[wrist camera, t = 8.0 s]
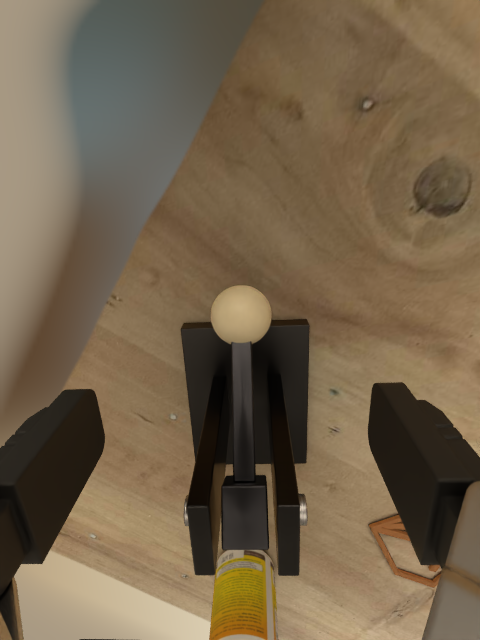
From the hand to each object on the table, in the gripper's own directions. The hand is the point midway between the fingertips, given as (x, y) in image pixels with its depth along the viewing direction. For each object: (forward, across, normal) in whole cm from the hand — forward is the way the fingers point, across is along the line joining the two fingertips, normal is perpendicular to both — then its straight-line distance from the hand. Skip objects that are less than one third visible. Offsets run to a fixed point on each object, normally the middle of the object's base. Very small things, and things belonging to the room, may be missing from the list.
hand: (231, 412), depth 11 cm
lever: (+9, 0, +6) cm, 11 cm away
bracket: (+16, 0, +9) cm, 18 cm away
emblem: (+15, -16, +25) cm, 34 cm away
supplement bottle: (+16, +1, +28) cm, 32 cm away
